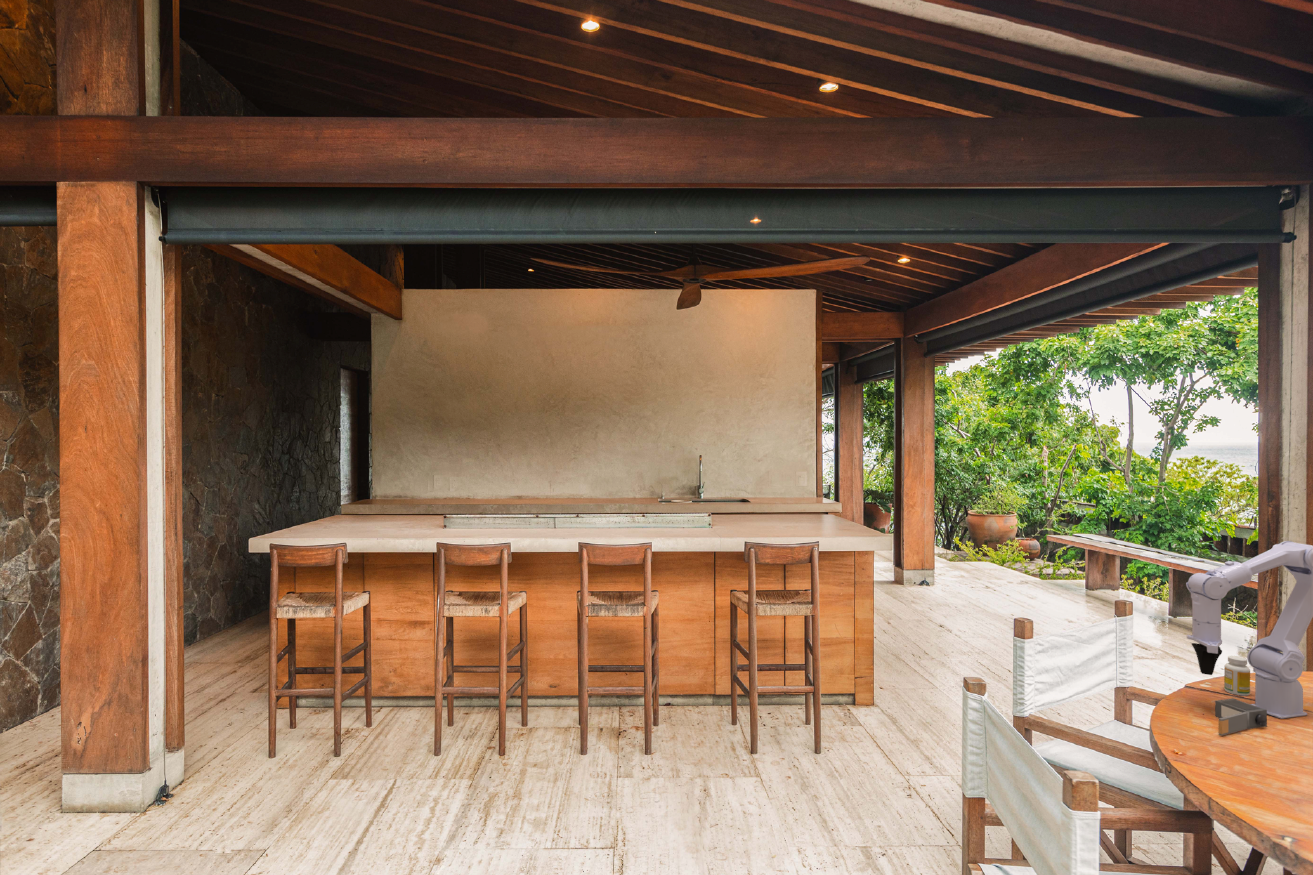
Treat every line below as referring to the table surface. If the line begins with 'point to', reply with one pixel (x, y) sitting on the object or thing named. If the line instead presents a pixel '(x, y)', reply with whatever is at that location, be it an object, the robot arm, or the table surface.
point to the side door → (1233, 723)
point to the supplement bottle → (1237, 676)
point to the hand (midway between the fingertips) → (1206, 673)
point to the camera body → (1241, 711)
